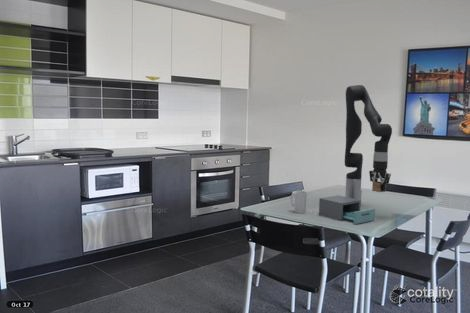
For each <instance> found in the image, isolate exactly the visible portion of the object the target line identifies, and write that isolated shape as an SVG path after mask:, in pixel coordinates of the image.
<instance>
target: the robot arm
mask: <svg viewBox="0 0 470 313" xmlns="http://www.w3.org/2000/svg"><path fill="white" fill-rule="evenodd" d="M355 102H362V103H363V105H364V107H363V108H364V109H363V115H364V118H365V119H366V120H367V122H368V123H369V126H370V130H371V131H370V132H372V133H371V134H372V135H373V136H374V137H379V138H380V139H379V140H376V141H375V142H374V149H373V150H374V152H373V161H372V168H373V170H369V172H368V173H369V180H370V182H372V183H373V182H377V181H380V182H381V184H382V185H381V191H385V185H386V186H387V185H388V184H389V183H390V180H391V176H392V174H391V173H388V172H387V169H388V161H389V159H388V158H389V153H388V152H389V150H388V149H389V143H390V141H391V140H390V139H391V136H392V135H393V134H392V133H393V129H392V126H391V124H389V123H381V122H382V116H381V115H380V114H379V112H378V111H377V109H376V108H375V106H374V104H373V101H372V98H371V97H370V95H369V93H368V90H367V88H366V87H365V86H364V85H363V84H359V85H358V84H357V85H349V86H348V87H346V89H345V106H346V112H345V113H346V114H345V115H346V120H345V121H346V122H345V152H344V166H345V167H346V168H353V169H354V168H356V169H355V170H354V171H351V172H348V173H346V176H345V178H346V180H345V196H344V197H349V198H353V199H358V200H361V201H362V194H363V193H362V191H363V190H362V171H363V161H364V157H363V154H362V153H360V152H351V151H352V148H353V146H354V144H355V143H357V142H356V141H357V140H358V139H359V138H360V136H361V135H362V130H363V129H362V128H363V126H362V124H363V123H362V120H361V118H360V116H359V115H358V113H357V111H356V107H355Z"/></svg>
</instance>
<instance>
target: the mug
mask: <svg viewBox="0 0 470 313" xmlns="http://www.w3.org/2000/svg"><path fill="white" fill-rule="evenodd" d="M307 193H308V191H305V190H296V191H294V192H291V195H290V198H289V199H290V204H291V206H292V207H294V212H295V213H297V214H305V213H306V211H307ZM293 197H294V200H293Z"/></svg>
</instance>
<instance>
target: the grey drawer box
mask: <svg viewBox="0 0 470 313" xmlns="http://www.w3.org/2000/svg"><path fill="white" fill-rule="evenodd" d="M318 201H319V205H318V206H319V207H318V208H319V209H318V216H323V217H325V216H326V218H329V217H330V218H329V219H333V220H336V219H337V221H341V222H342V221H346V220H348V219H346V218H343V212H348V211H350V212H355V211H361V205H362V199H361V200H358V199H353V198H349V197H345V196H343V195H339V194H337V195H333V196H332V195H331V196H325V197H319V200H318Z"/></svg>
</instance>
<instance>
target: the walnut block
mask: <svg viewBox="0 0 470 313" xmlns="http://www.w3.org/2000/svg"><path fill="white" fill-rule="evenodd" d="M381 185H382V184H381V181H380V180H378V181H377V182H372V186H371V187H372V188H371V190H372V192H376V193H385V192H386V191H387V184H386V185H385V191H381Z"/></svg>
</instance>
